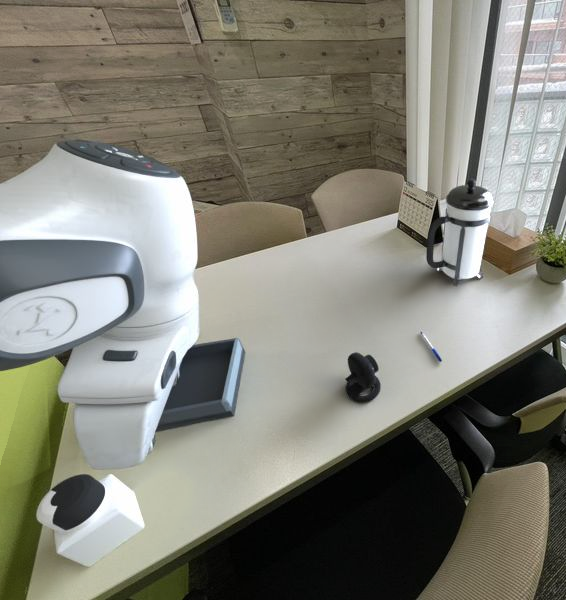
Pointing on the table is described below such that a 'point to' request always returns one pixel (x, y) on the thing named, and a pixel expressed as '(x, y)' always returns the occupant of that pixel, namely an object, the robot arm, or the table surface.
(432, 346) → the ballpoint pen
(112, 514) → the medicine bottle
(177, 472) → the table surface
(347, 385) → the webcam
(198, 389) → the drawer
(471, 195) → the coffee press
